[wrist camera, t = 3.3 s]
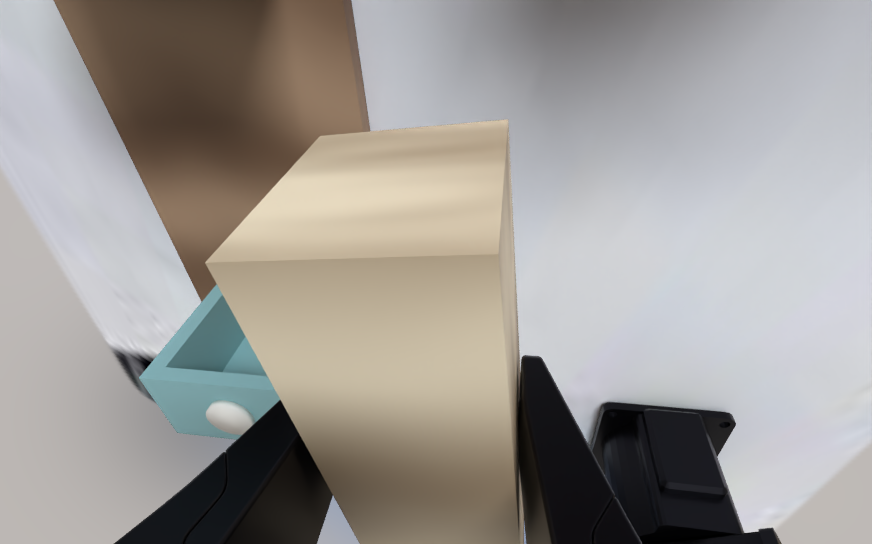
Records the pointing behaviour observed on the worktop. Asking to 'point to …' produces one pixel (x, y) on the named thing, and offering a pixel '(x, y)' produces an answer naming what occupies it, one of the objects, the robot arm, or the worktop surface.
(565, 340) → the worktop surface
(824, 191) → the worktop surface
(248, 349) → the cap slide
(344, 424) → the wooden block
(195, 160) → the board
